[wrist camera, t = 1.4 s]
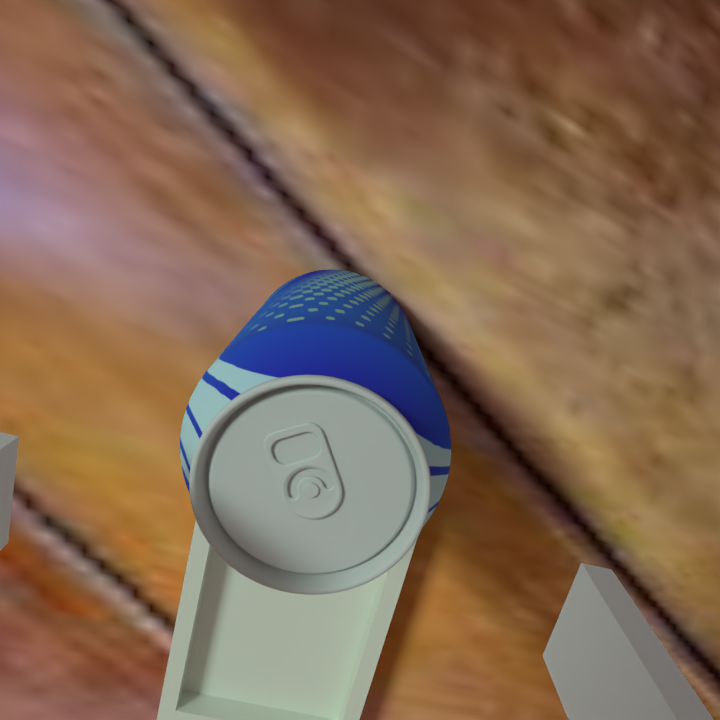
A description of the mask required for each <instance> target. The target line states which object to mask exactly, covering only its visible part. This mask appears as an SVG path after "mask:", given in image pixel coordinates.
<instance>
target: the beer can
mask: <svg viewBox="0 0 720 720" xmlns="http://www.w3.org/2000/svg"><path fill="white" fill-rule="evenodd" d="M180 456H181V463H182V470H183V474H184V478H185V482H186V485H187V488H188V490H189V493H190V498H191V504H192V508H193V512H194V515H195V518H196V521H197V523H198V525H199V527H200V529H201V531H202V534H203V535H204V537H205V538H206V540H207V541H208V543H209V544H210V546H211V547H212V548H213V549H214V551H215V552H216V553H217V554H218V555H219V556H220V557H221V558H222V559H223V560H224V561H225V562H226V563H227V564H228V565H230V566H231V567H232V568H233V569H235V570H236V571H237V572H239V573H240V574H242V575H244V576H245V577H247V578H249V579H251V580H253V581H255V582H257V583H259V584H261V585H264V586H266V587H269V588H272V589H276V590H279V591H284V592H289V593H295V594H307V595H318V594H330V593H337V592H341V591H346V590H349V589H352V588H356V587H358V586H361V585H363V584H366V583H368V582H370V581H372V580H374V579H376V578H377V577H379V576H381V575H382V574H384V573H385V572H387V571H388V570H389V569H390V568H392V567H393V566H394V565H395V564H396V563H398V562H399V561H400V560H401V559H402V558H403V557H404V555H405V554H406V553H407V552H408V551H409V550H410V548H411V547H412V545H413V544H414V543H415V541H416V539H417V537H418V536H419V534H420V532H421V530H422V528H423V526H424V525H425V524H426V522H427V521H428V519H429V518H430V517H431V515H432V514H433V512H434V510H435V508H436V507H437V505H438V503H439V501H440V498H441V496H442V494H443V492H444V489H445V486H446V483H447V479H448V475H449V470H450V462H451V438H450V429H449V424H448V420H447V416H446V413H445V410H444V407H443V404H442V402H441V399H440V397H439V394H438V392H437V390H436V387H435V385H434V382H433V380H432V377H431V375H430V373H429V370H428V368H427V365H426V363H425V360H424V358H423V356H422V353H421V351H420V348H419V346H418V344H417V341H416V339H415V336H414V334H413V331H412V329H411V327H410V324H409V322H408V319H407V317H406V315H405V313H404V311H403V310H402V308H401V306H400V305H399V304H398V302H397V301H396V300H395V299H394V297H393V296H392V295H391V294H390V293H389V292H388V291H386V290H385V289H384V288H383V287H382V286H380V285H379V284H377V283H376V282H374V281H372V280H371V279H368V278H366V277H364V276H362V275H359V274H356V273H352V272H348V271H342V270H320V271H314V272H310V273H306V274H303V275H301V276H298V277H296V278H294V279H292V280H290V281H288V282H287V283H285V284H284V285H282V286H281V287H280V288H278V289H277V290H276V291H275V292H274V293H273V294H272V295H271V296H270V297H269V298H268V300H267V301H266V302H265V303H264V304H263V305H262V307H261V308H260V309H259V310H258V311H257V312H256V314H255V315H254V316H253V317H252V318H251V320H250V321H249V322H248V323H247V324H246V325H245V327H244V328H243V329H242V330H241V331H240V332H239V334H238V335H237V336H236V337H235V338H234V340H233V341H232V342H231V343H230V344H229V345H228V347H227V348H226V349H225V350H224V351H223V352H222V354H221V355H220V356H219V357H218V358H217V360H216V361H215V362H214V363H213V364H212V365H211V367H210V368H209V369H208V370H207V371H206V373H205V374H204V375H203V377H202V378H201V380H200V381H199V383H198V384H197V386H196V388H195V390H194V392H193V394H192V396H191V398H190V401H189V403H188V405H187V408H186V411H185V415H184V418H183V423H182V428H181V437H180Z"/></svg>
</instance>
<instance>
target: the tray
mask: <svg viewBox="0 0 720 720" xmlns="http://www.w3.org/2000/svg"><path fill="white" fill-rule="evenodd" d="M417 538H418V537H417ZM416 541H417V539H416ZM416 541H415V543H414V544H413V545H412V547H411V548H410V550H409V551H408V552H407V553H406V554H405V555H404V557H403V558H402V559H401V560H400V561H399V562H398V563H396V564H395V565H394V566H393V567H392V568H390V569H389V570H388V571H387V572H385V573H384V574H382V575H381V576H379V577H377V578H376V579H374V580H372V581H370V582H368V583H366V584H363V585H361V586H358V587H356V588H352V589H349V590H346V591H341V592H337V593H330V594H318V595H307V594H295V593H289V592H284V591H279V590H276V589H272V588H269V587H266V586H264V585H261V584H259V583H257V582H255V581H253V580H251V579H249V578H247V577H245V576H244V575H242V574H240V573H239V572H237V571H236V570H235V569H233V568H232V567H231V566H230V565H228V564H227V563H226V562H225V561H224V560H223V559H222V558H221V557H220V556H219V555H218V554H217V553H216V552H215V551H214V549H213V548H212V547H211V546H210V544H209V543H208V541H207V540H206V538H205V537H204V535H203V534H202V531H201V529H200V527H199V525H198V523H197V521H196V522H195V527H194V532H193V537H192V543H191V548H190V553H189V558H188V563H187V568H186V573H185V578H184V583H183V588H182V593H181V599H180V604H179V609H178V614H177V619H176V624H175V629H174V634H173V639H172V644H171V650H170V655H169V660H168V665H167V670H166V675H165V680H164V685H163V690H162V695H161V700H160V706H159V711H158V716H157V720H360V716H361V713H362V710H363V707H364V704H365V701H366V698H367V695H368V691H369V688H370V685H371V682H372V679H373V676H374V673H375V670H376V666H377V663H378V660H379V657H380V654H381V651H382V648H383V645H384V641H385V638H386V635H387V632H388V629H389V626H390V623H391V620H392V616H393V613H394V610H395V607H396V604H397V601H398V598H399V595H400V591H401V588H402V585H403V582H404V579H405V576H406V573H407V569H408V566H409V563H410V560H411V557H412V554H413V551H414V548H415V544H416Z"/></svg>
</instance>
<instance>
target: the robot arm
mask: <svg viewBox="0 0 720 720" xmlns="http://www.w3.org/2000/svg"><path fill="white" fill-rule="evenodd" d="M18 438H19V436H14V435H10V434H5V433H1V432H0V550H1V549H2V548H3V547H4V546H5V545H6V544H7V543H8V538H9V528H10V518H11V508H12V498H13V488H14V478H15V468H16V458H17V448H18ZM543 658H544V661H545V663H546V666H547V668H548V671H549V673H550V676H551V678H552V681H553V683H554V686H555V688H556V690H557V693H558V695H559V698H560V700H561V703H562V705H563V708H564V710H565V713H566V715H567V718H568V720H714V719H713V718H712V716H711V715H710V713H709V712H708V710H707V709H706V707H705V706H704V704H703V703H702V701H701V700H700V698H699V697H698V696H697V694H696V693H695V691H694V690H693V688H692V687H691V685H690V684H689V682H688V681H687V679H686V678H685V676H684V675H683V674H682V672H681V671H680V669H679V668H678V666H677V665H676V663H675V662H674V660H673V659H672V657H671V656H670V654H669V653H668V652H667V650H666V649H665V647H664V646H663V644H662V643H661V641H660V640H659V638H658V637H657V635H656V634H655V632H654V631H653V630H652V628H651V627H650V625H649V624H648V622H647V621H646V619H645V618H644V616H643V615H642V613H641V612H640V611H639V609H638V608H637V606H636V605H635V603H634V602H633V600H632V599H631V597H630V596H629V594H628V593H627V591H626V590H625V589H624V587H623V586H622V584H621V583H620V581H619V580H618V578H617V577H616V575H615V574H614V572H613V571H612V570H611V569H607V568H602V567H598V566H593V565H589V564H584V563H581V564H580V567H579V569H578V572H577V574H576V576H575V579H574V581H573V584H572V586H571V588H570V591H569V593H568V596H567V598H566V600H565V603H564V605H563V608H562V610H561V612H560V615H559V617H558V620H557V622H556V624H555V627H554V629H553V632H552V634H551V636H550V639H549V641H548V644H547V646H546V648H545V651H544V653H543Z"/></svg>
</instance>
